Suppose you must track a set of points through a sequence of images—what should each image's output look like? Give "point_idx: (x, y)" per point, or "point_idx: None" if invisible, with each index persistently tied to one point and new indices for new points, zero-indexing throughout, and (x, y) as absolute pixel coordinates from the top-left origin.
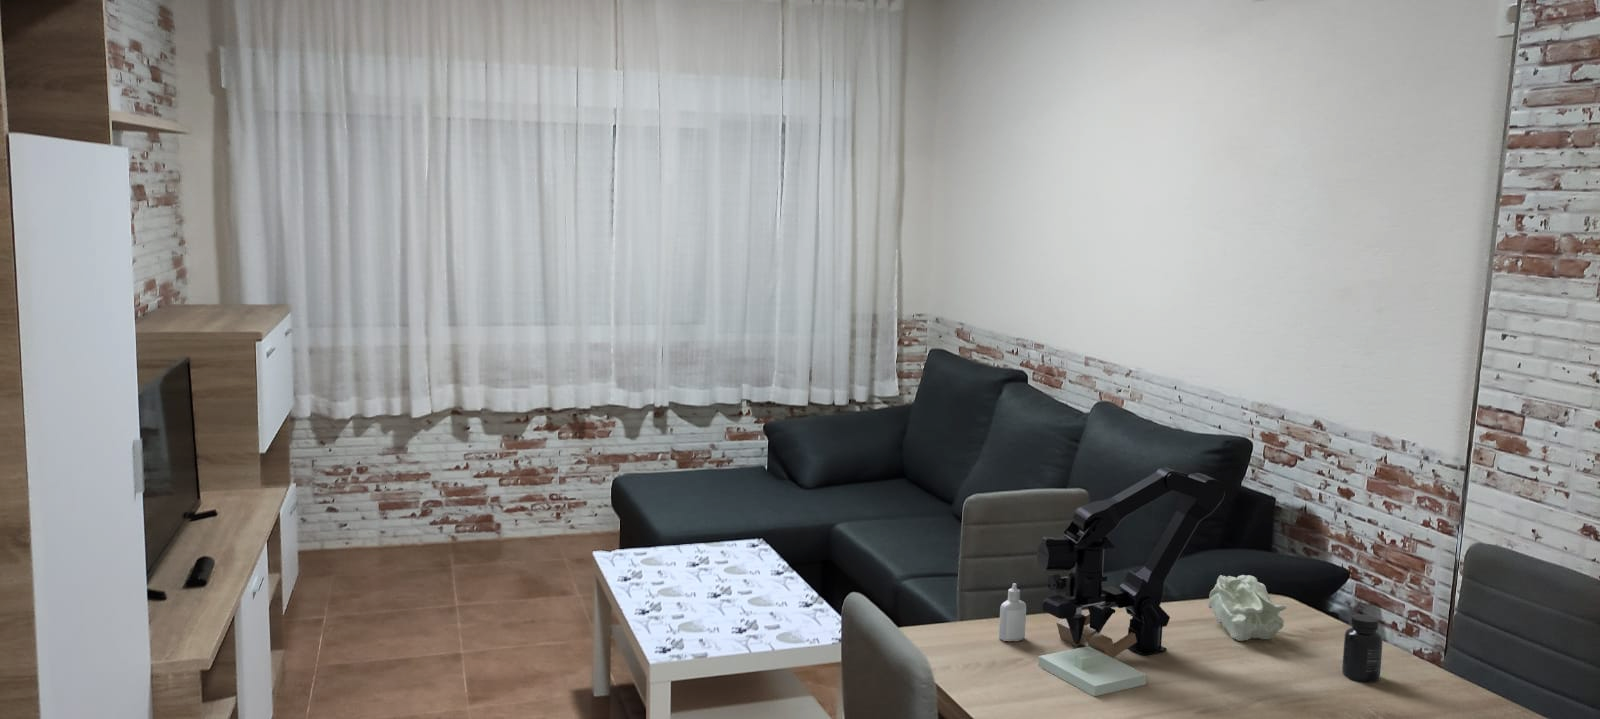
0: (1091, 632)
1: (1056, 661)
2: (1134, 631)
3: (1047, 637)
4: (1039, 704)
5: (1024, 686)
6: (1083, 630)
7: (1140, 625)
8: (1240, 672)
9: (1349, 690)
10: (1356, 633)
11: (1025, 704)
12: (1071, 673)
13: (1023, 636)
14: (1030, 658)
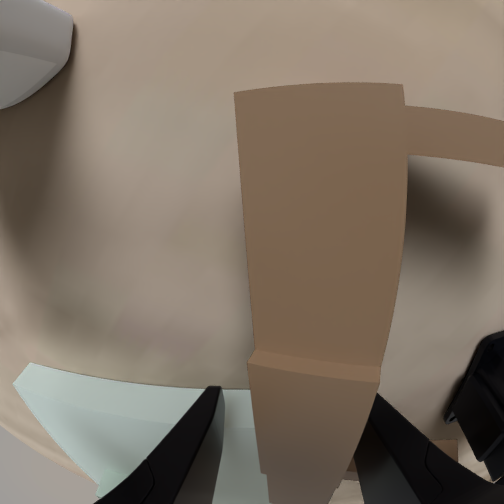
0: (302, 480)
1: (59, 433)
2: (482, 451)
3: (217, 64)
4: (30, 445)
5: (5, 404)
6: (290, 449)
7: (492, 477)
8: (473, 462)
9: (483, 478)
10: None
11: (12, 432)
12: (86, 473)
13: (45, 75)
14: (15, 304)
